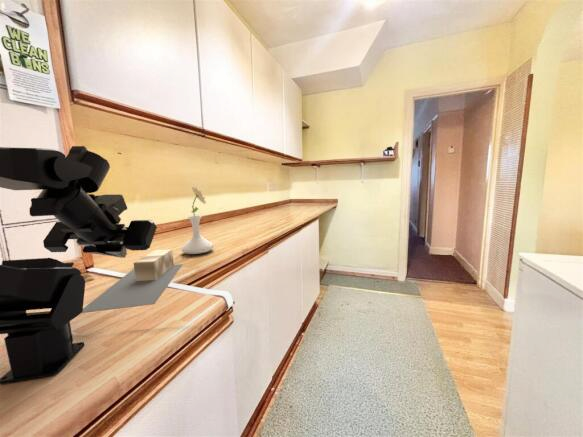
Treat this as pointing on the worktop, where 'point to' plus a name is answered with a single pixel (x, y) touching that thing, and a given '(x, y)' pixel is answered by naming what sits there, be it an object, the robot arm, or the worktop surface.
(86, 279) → the shard
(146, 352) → the worktop surface
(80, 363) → the worktop surface
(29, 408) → the worktop surface
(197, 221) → the flower in vase
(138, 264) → the birch block
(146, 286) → the rubber mat
